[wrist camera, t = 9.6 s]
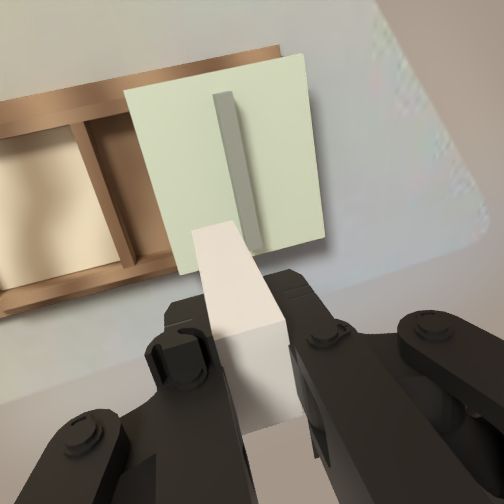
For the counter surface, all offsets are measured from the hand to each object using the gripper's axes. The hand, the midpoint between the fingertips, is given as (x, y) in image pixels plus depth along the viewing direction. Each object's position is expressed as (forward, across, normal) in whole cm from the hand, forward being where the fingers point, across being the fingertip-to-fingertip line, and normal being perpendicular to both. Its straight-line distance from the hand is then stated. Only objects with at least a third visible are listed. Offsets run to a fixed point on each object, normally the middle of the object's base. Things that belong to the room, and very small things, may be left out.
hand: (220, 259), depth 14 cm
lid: (+13, +3, 0) cm, 13 cm away
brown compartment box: (+16, -5, 0) cm, 17 cm away
